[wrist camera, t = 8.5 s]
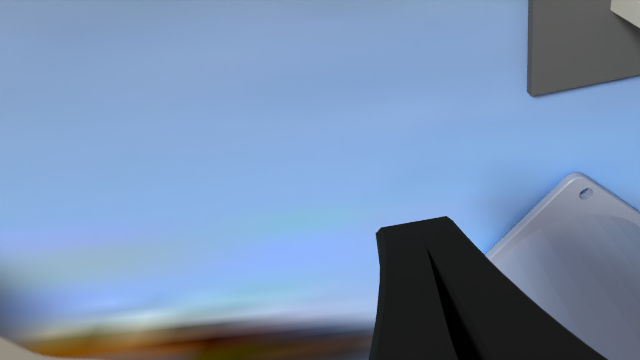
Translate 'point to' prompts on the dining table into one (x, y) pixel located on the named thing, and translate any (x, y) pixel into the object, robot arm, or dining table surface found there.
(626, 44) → the mat
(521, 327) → the robot arm
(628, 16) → the block
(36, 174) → the dining table surface
